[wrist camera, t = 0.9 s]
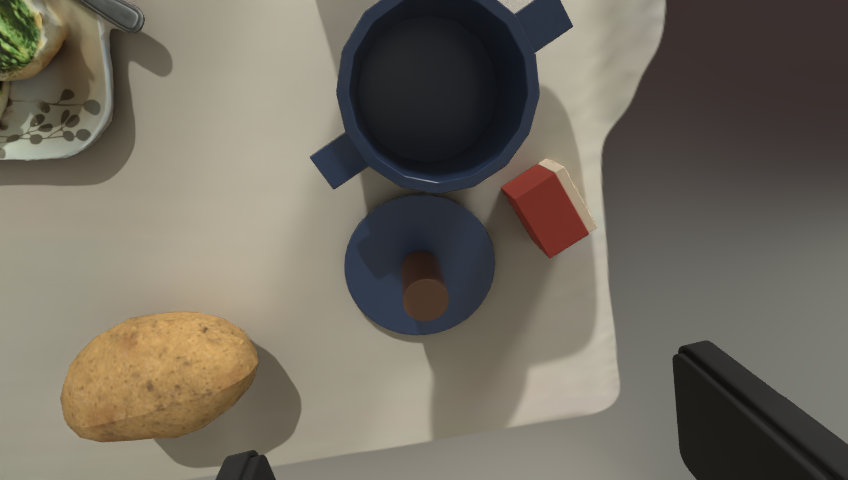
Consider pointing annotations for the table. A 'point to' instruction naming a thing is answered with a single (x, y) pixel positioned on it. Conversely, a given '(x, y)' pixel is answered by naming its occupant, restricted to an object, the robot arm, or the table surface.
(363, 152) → the pot
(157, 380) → the potato
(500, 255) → the table surface
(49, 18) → the salad plate
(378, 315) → the lid
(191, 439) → the table surface
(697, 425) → the robot arm
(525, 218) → the meat
